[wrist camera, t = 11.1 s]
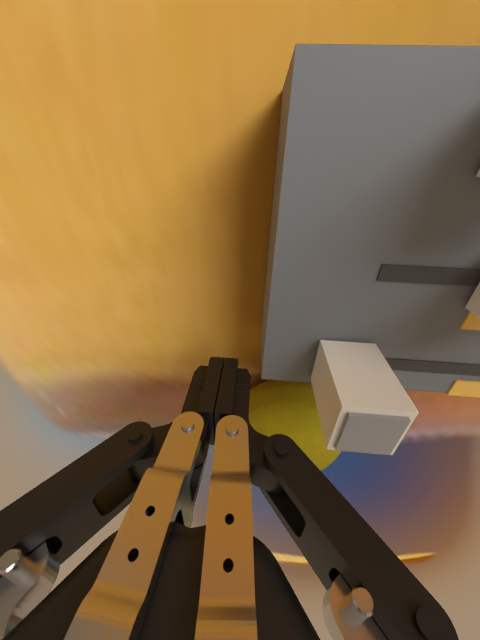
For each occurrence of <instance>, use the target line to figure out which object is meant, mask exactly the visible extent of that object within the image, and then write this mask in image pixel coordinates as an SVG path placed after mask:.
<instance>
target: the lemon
mask: <svg viewBox="0 0 480 640" xmlns="http://www.w3.org/2000/svg"><path fill="white" fill-rule="evenodd" d="M249 422H250V424H251V426H252V427H253V428H254V429H255V430H256V431H257V432H259V433H261V434H263V435H266V436H268V437H270V436H272V435H274V434H283V435H286V436H288V437H290V438H291V439H292V440H293V441H294V442H295V443H296V444H297V445H298V446H299V447H300V448H301V450H302V451H303V452H304V453H305V454H306V455H307V456H308V457H309V459H310V460H311V461H312V462H313V463H314V464H315V465H316V466H317V468H318V469H319V470H320V471H321V470H323V469H324V468H326V467H327V466H328V465H330V464H331V463H332V462H333V461H334V460H335V459H336V458H337V456H338V455H339V454H340V453H341V451H338V450H329V449H326V445H325V440H324V436H323V432H322V427H321V423H320V418H319V414H318V410H317V405H316V401H315V396H314V392H313V387H312V383H309V382H296V381H282V380H268V381H265V382H263V383H261V384H258V385H256V386H255V387H253V388H252V389H250V399H249Z"/></svg>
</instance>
